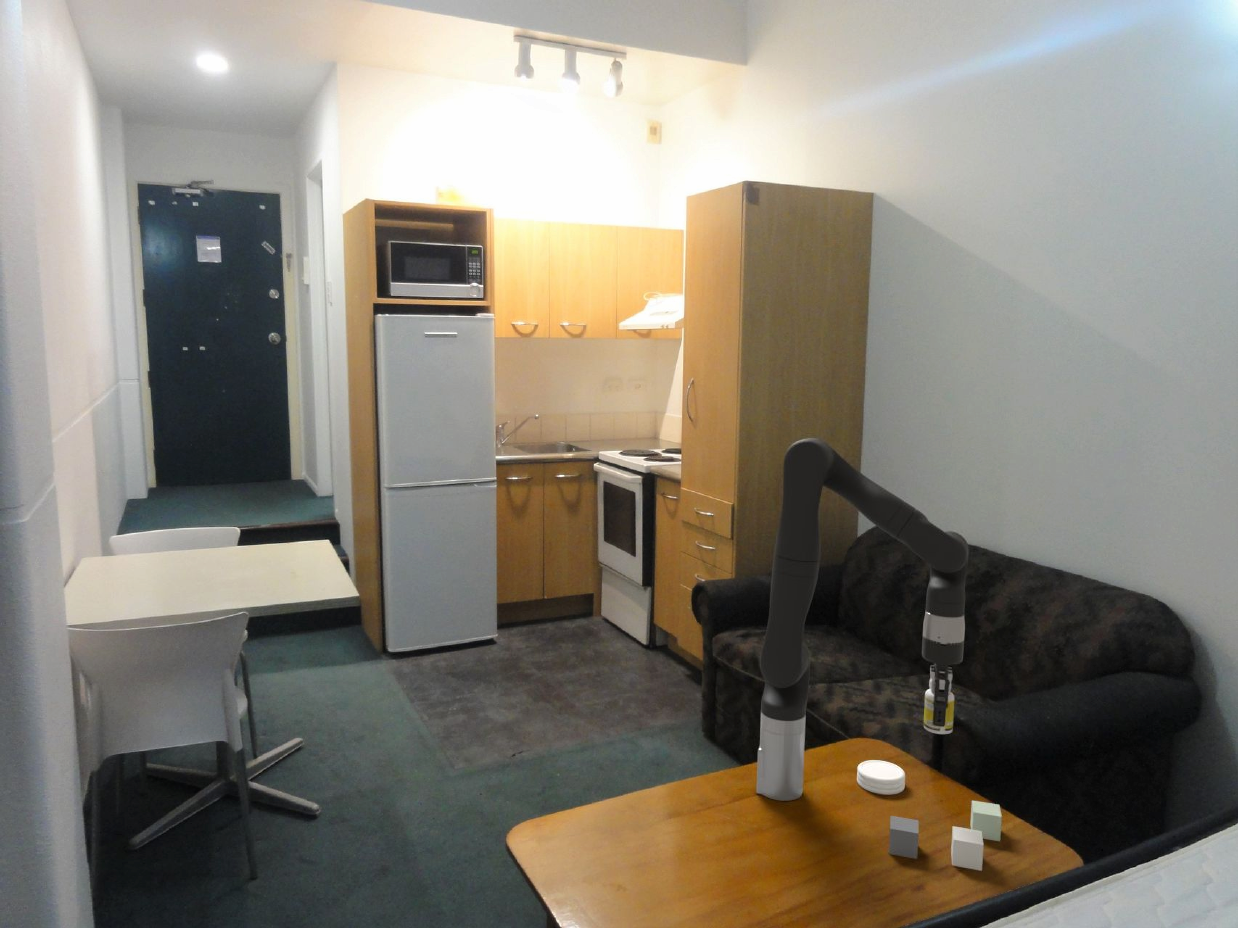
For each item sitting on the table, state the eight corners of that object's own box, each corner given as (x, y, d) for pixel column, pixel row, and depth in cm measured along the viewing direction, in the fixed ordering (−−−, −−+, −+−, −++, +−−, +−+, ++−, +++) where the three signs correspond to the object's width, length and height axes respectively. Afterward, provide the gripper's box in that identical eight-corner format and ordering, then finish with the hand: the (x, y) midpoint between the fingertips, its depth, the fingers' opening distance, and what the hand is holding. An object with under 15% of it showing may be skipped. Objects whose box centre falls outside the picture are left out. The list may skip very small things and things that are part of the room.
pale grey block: (952, 865, 158) (953, 839, 158) (951, 851, 163) (952, 825, 162) (981, 871, 157) (983, 844, 156) (980, 856, 161) (981, 830, 161)
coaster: (848, 776, 193) (849, 761, 193) (888, 772, 195) (889, 757, 195) (871, 798, 183) (872, 782, 183) (913, 793, 186) (914, 777, 185)
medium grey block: (888, 854, 162) (889, 828, 161) (889, 840, 166) (890, 815, 166) (917, 859, 160) (918, 833, 160) (917, 845, 165) (918, 820, 164)
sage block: (971, 836, 168) (973, 812, 168) (970, 824, 173) (971, 800, 172) (1000, 841, 167) (1001, 816, 166) (997, 828, 171) (999, 804, 171)
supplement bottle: (948, 724, 173) (951, 676, 172) (956, 735, 168) (959, 686, 167) (920, 722, 174) (923, 675, 173) (927, 734, 168) (929, 685, 167)
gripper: (922, 623, 177) (918, 704, 179) (923, 643, 163) (918, 730, 165) (962, 627, 175) (957, 709, 176) (966, 648, 161) (960, 736, 163)
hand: (938, 719), depth 171 cm, fingers closed on supplement bottle, 5 cm apart
